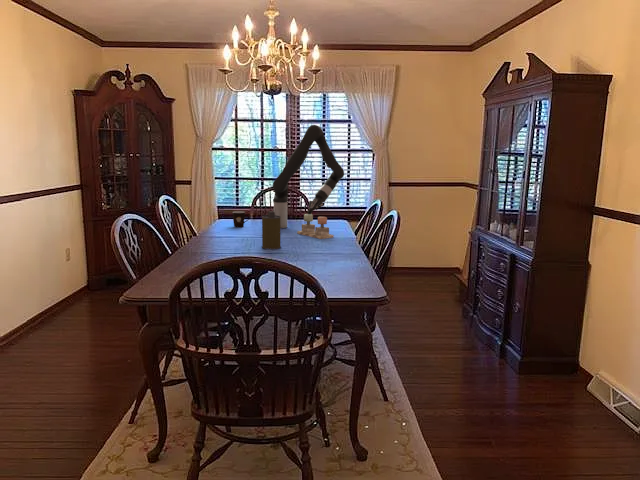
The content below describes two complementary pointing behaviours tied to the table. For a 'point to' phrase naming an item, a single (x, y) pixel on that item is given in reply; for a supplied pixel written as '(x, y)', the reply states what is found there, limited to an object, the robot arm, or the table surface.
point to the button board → (312, 234)
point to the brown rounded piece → (322, 221)
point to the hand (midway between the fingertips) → (308, 213)
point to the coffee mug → (239, 218)
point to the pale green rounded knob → (308, 218)
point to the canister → (271, 231)
